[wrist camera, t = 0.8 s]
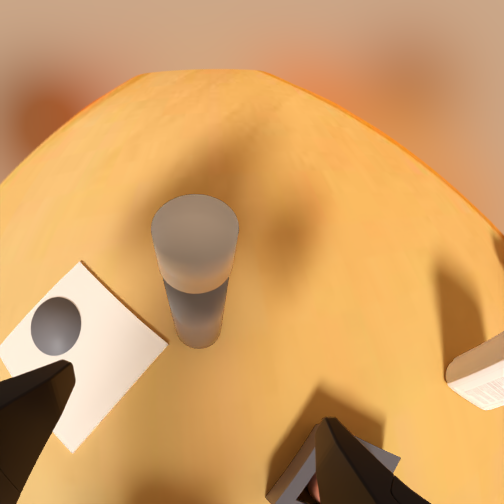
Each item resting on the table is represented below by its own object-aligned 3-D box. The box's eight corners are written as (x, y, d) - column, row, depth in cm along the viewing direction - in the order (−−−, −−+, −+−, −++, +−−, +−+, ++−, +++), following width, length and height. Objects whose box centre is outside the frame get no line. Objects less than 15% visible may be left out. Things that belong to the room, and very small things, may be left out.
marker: (202, 359, 23) (200, 280, 12) (165, 329, 24) (133, 229, 13) (231, 323, 26) (255, 221, 14) (194, 297, 26) (191, 183, 15)
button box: (339, 526, 15) (354, 535, 12) (265, 497, 17) (273, 505, 14) (382, 457, 19) (400, 457, 17) (316, 424, 21) (329, 422, 19)
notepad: (73, 453, 16) (71, 453, 15) (-3, 351, 19) (-5, 349, 18) (168, 344, 23) (167, 343, 23) (80, 263, 26) (79, 261, 26)
